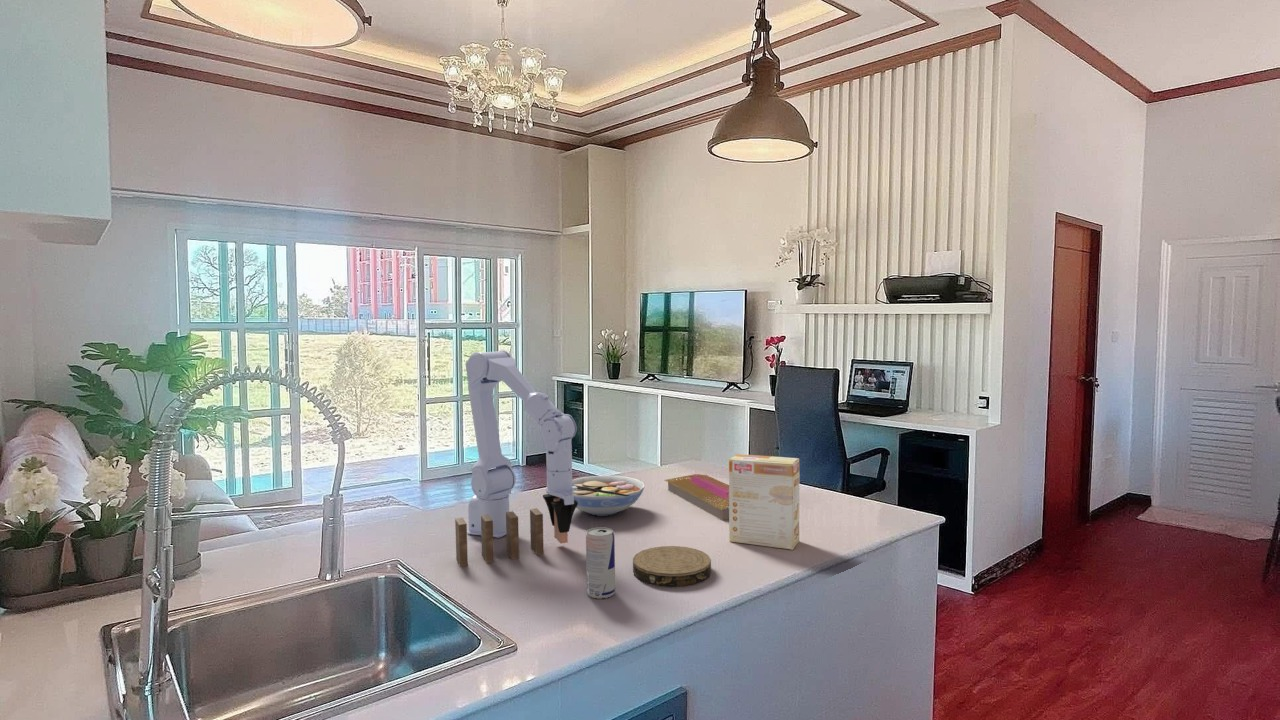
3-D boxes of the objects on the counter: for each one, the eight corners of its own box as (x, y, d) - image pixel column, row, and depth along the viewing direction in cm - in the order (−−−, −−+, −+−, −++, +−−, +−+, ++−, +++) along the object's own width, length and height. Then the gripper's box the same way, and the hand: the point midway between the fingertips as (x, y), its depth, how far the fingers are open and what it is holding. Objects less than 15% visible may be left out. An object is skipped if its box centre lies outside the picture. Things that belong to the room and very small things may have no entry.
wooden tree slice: (726, 577, 138) (726, 563, 138) (661, 595, 130) (661, 579, 130) (680, 554, 152) (680, 541, 152) (618, 569, 143) (618, 555, 143)
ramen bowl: (665, 508, 187) (664, 478, 186) (617, 531, 167) (617, 498, 167) (590, 496, 200) (590, 468, 200) (538, 516, 181) (538, 485, 180)
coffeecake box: (800, 541, 159) (800, 457, 158) (793, 550, 152) (793, 463, 151) (737, 533, 165) (737, 452, 164) (728, 542, 159) (728, 458, 158)
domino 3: (511, 558, 149) (510, 518, 149) (506, 551, 154) (505, 512, 153) (519, 557, 150) (518, 517, 149) (513, 550, 155) (512, 511, 154)
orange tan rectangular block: (560, 543, 154) (560, 503, 153) (554, 537, 158) (553, 498, 158) (567, 542, 154) (566, 503, 154) (561, 536, 159) (560, 497, 158)
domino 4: (536, 555, 152) (535, 514, 151) (530, 548, 156) (529, 509, 156) (543, 554, 152) (542, 514, 152) (537, 547, 157) (536, 508, 156)
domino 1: (460, 566, 145) (458, 524, 144) (456, 559, 150) (455, 518, 149) (467, 565, 146) (466, 523, 145) (463, 558, 150) (462, 517, 150)
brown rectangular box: (664, 491, 207) (664, 471, 206) (706, 486, 212) (706, 466, 212) (721, 523, 174) (721, 499, 174) (769, 516, 180) (769, 493, 179)
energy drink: (619, 589, 132) (618, 528, 131) (609, 601, 127) (608, 537, 126) (593, 586, 134) (592, 525, 133) (582, 597, 129) (581, 534, 128)
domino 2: (486, 562, 147) (485, 521, 147) (481, 555, 152) (480, 515, 151) (493, 561, 148) (492, 520, 147) (489, 554, 152) (488, 514, 152)
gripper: (586, 474, 150) (587, 535, 151) (566, 461, 163) (567, 517, 164) (555, 477, 147) (556, 539, 148) (537, 464, 161) (538, 521, 161)
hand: (560, 528), depth 156 cm, fingers closed on orange tan rectangular block, 5 cm apart
